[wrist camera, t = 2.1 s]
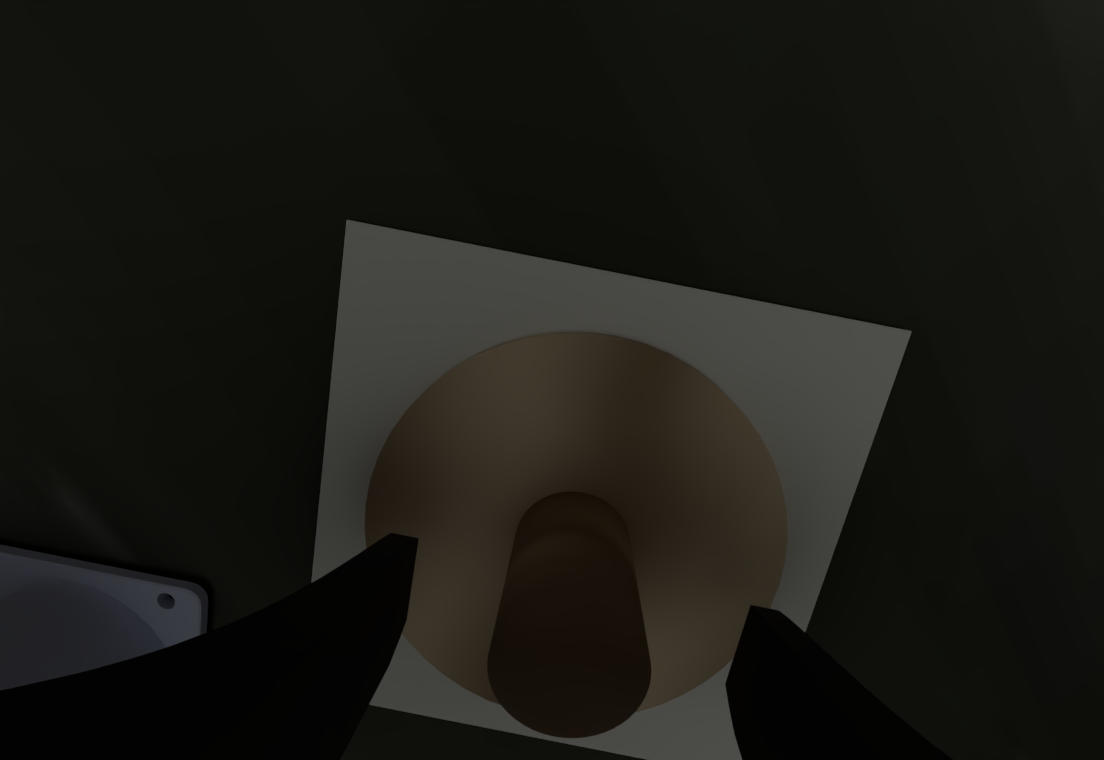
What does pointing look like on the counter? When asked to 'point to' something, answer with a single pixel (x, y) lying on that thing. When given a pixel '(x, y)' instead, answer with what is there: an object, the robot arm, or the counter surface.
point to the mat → (615, 309)
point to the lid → (579, 527)
